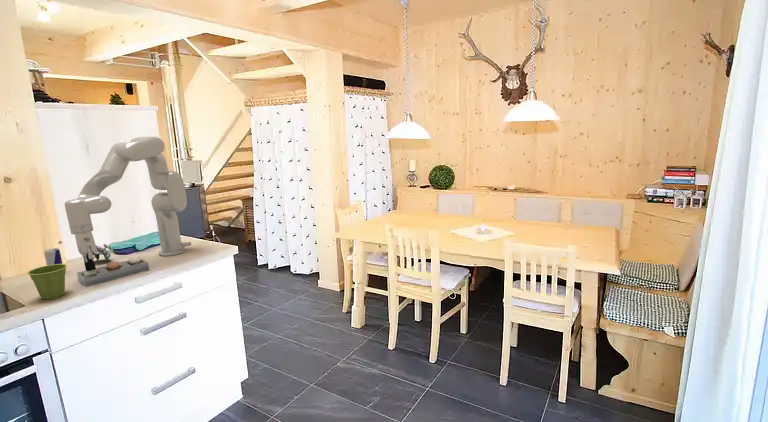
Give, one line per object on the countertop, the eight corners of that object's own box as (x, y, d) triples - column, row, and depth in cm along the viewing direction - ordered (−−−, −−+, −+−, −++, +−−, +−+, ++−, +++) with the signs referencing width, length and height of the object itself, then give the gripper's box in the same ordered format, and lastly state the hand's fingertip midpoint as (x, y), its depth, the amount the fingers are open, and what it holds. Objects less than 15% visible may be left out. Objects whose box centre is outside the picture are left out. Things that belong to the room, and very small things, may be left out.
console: (140, 264, 188) (139, 257, 187) (149, 270, 180) (148, 262, 179) (78, 280, 170) (76, 272, 170) (85, 286, 163) (83, 278, 162)
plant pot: (40, 305, 146) (34, 276, 144) (28, 299, 152) (22, 271, 150) (78, 293, 156) (72, 266, 154) (65, 288, 162) (59, 262, 160)
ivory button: (139, 260, 184) (138, 255, 183) (142, 261, 181) (141, 257, 180) (127, 262, 181) (127, 258, 180) (131, 264, 177) (130, 260, 177)
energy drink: (67, 273, 180) (62, 248, 177) (54, 278, 175) (48, 252, 173) (59, 272, 182) (54, 247, 179) (46, 277, 177) (40, 251, 174)
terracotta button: (118, 265, 178) (117, 260, 177) (121, 267, 175) (120, 262, 174) (106, 268, 174) (105, 263, 174) (109, 270, 171) (108, 265, 171)
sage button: (96, 273, 172) (95, 269, 171) (98, 276, 169) (98, 271, 168) (83, 277, 168) (82, 272, 168) (85, 279, 165) (85, 274, 165)
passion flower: (110, 271, 197) (116, 254, 192) (83, 274, 189) (89, 256, 184) (104, 255, 203) (110, 238, 198) (78, 257, 194) (83, 239, 189)
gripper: (97, 229, 162) (106, 271, 166) (87, 224, 172) (96, 264, 176) (74, 233, 157) (84, 276, 161) (66, 228, 167) (76, 269, 171)
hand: (91, 270), depth 169 cm, fingers closed
